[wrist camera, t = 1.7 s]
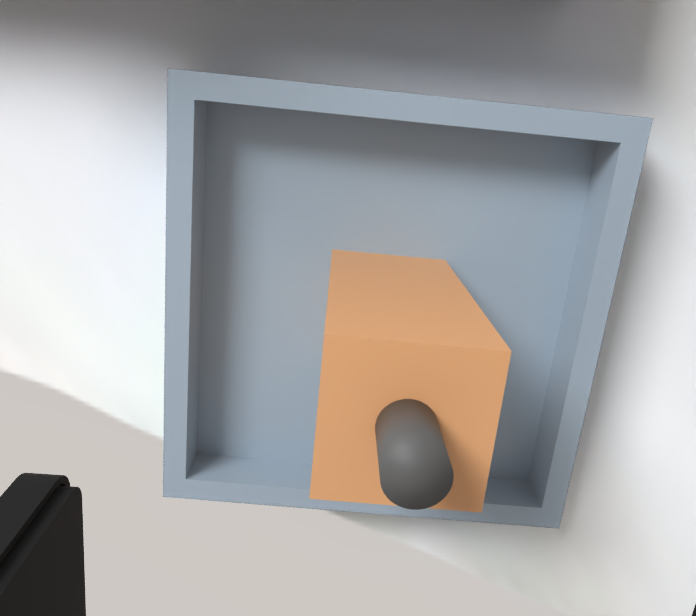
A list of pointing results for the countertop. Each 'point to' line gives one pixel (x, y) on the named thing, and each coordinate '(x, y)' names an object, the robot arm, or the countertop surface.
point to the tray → (381, 238)
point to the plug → (406, 386)
